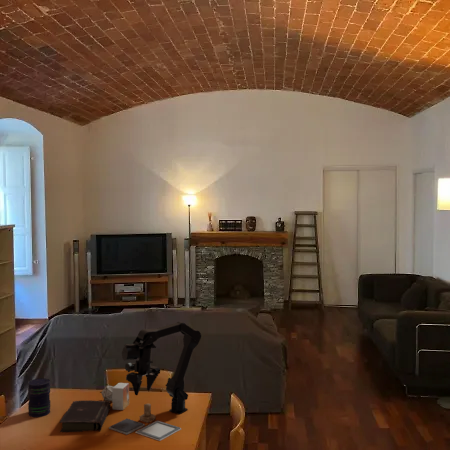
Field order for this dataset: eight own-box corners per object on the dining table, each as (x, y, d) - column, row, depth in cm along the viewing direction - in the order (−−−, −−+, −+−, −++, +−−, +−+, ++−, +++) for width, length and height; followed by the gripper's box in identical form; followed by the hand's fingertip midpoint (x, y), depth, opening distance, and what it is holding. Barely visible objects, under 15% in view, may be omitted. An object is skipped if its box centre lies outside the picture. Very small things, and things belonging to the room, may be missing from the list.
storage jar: (28, 418, 240) (28, 386, 240) (27, 411, 249) (27, 379, 249) (51, 415, 244) (51, 383, 244) (49, 407, 253) (49, 377, 253)
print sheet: (157, 421, 237) (157, 420, 237) (181, 429, 229) (181, 427, 229) (135, 432, 226) (135, 431, 226) (160, 441, 218) (160, 439, 218)
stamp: (147, 416, 243) (147, 401, 242) (155, 419, 240) (155, 404, 240) (139, 420, 239) (139, 405, 238) (147, 423, 236) (147, 407, 236)
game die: (113, 407, 263) (125, 391, 264) (104, 407, 255) (117, 390, 256) (101, 396, 267) (114, 379, 268) (93, 395, 259) (105, 378, 260)
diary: (110, 410, 252) (111, 400, 252) (101, 433, 227) (101, 421, 227) (71, 410, 251) (71, 400, 251) (57, 433, 226) (57, 421, 226)
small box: (123, 410, 250) (123, 388, 250) (112, 409, 251) (111, 387, 251) (129, 404, 258) (129, 383, 257) (118, 403, 259) (118, 382, 258)
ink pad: (126, 419, 239) (126, 417, 239) (144, 425, 233) (144, 423, 233) (108, 428, 230) (108, 426, 230) (126, 434, 224) (126, 432, 224)
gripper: (142, 351, 250) (140, 384, 250) (117, 359, 233) (115, 394, 233) (161, 355, 245) (159, 388, 245) (138, 363, 228) (135, 399, 228)
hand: (142, 392), depth 238 cm, fingers open, 9 cm apart
